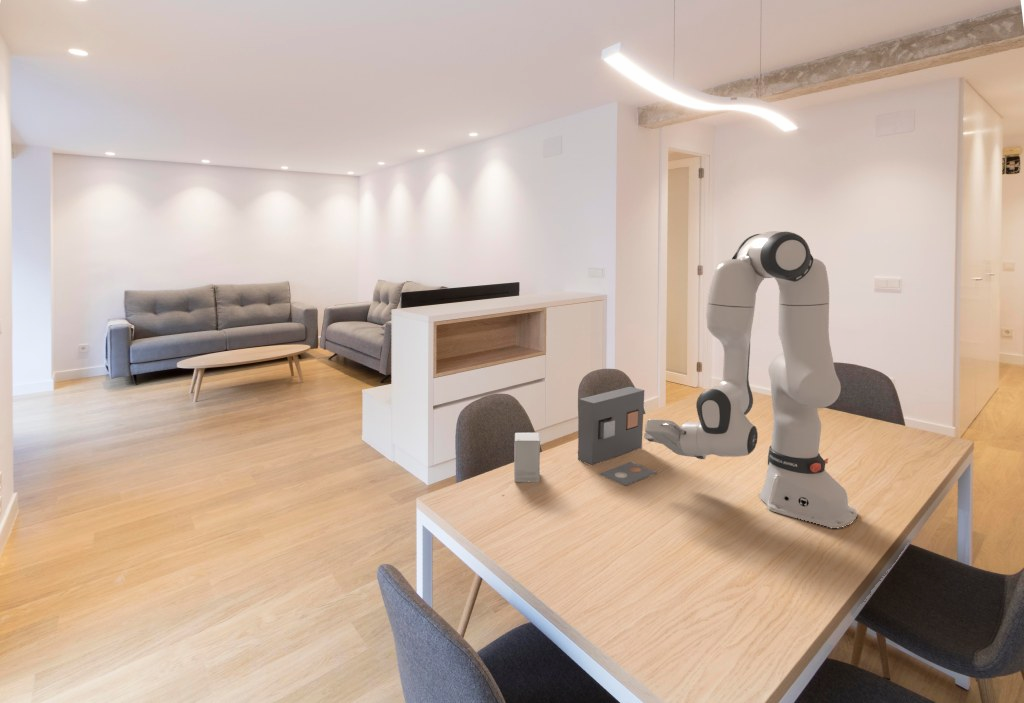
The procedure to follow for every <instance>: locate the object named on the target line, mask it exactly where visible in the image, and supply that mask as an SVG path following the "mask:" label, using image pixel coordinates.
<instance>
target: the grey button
mask: <svg viewBox="0 0 1024 703" xmlns="http://www.w3.org/2000/svg"><path fill="white" fill-rule="evenodd" d="M611 436H615V420H613V419H610V418H606V419H603V420H599V425H598V437H599V438H602V439H605V438H608V437H611Z"/></svg>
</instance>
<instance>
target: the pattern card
mask: <svg viewBox="0 0 1024 703" xmlns="http://www.w3.org/2000/svg"><path fill="white" fill-rule="evenodd" d="M657 473H658V472H657V471H655V470H653V469H649V468H647V467H645V466H642V465H639V464H637V463H634V462H632V461H629V462H626V463H624V464H620V465H617V466H616V467H612V468H610V469H607V470H604V471H601V472H599V474H600V475H599V476H601V477H604V478H607V479H609V480H612V481H613V482H615V483H618V484H620V485H621V486H625V487H627V486H629V485H632V484H634V483H636V482H640V481H641V480H644V479H646V478H649V477H651V476H653V475H656V474H657Z"/></svg>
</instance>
